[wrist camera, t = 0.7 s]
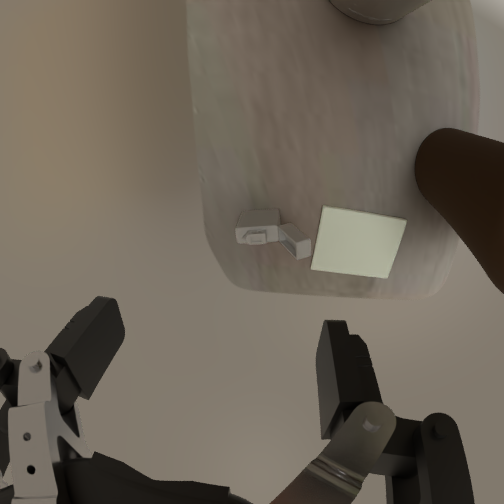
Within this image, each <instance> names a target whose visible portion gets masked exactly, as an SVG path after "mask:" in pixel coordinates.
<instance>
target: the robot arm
mask: <svg viewBox="0 0 504 504" xmlns="http://www.w3.org/2000/svg"><path fill="white" fill-rule="evenodd" d="M430 1H432V0H330V2H331V3H332V4H333V5H334V6H335V7H336V8H337V9H338V10H340V11H341V12H343V13H344V14H346V15H347V16H349V17H351V18H353V19H355V20H358V21H361V22H364V23H369V24H375V25H384V24H389V23H393V22H395V21H397V20H399V19H401V18H402V17H404V16H405V15H407V14H409V13H410V12H412V11H414V10H416V9H417V8H419V7H421V6H423V5H424V4H426V3H428V2H430ZM124 337H125V328H124V325H123V321H122V318H121V314H120V311H119V307H118V304H117V301H116V300H115V299H113V298H108V297H102V296H97V297H96V298H95V299H94V300H93V301H92V302H91V303H90V304H89V306H86V307H85V308H83V309H82V310H80V311H78V312H77V313H76V314H75V315H74V316H73V318H72V319H71V320H70V322H68V323H67V325H66V326H65V329H62V331H61V332H60V333H59V334H58V336H57V337H56V338H55V339H54V340H53V342H52V343H51V344H50V345H49V347H48V348H47V349H46V350H45V351H44V352H43V351H34V352H31V353H29V354H28V355H26V356H25V357H24V358H23V359H22V360H14V359H10V357H9V355H8V354H7V352H6V351H5V350H4V349H2V348H0V392H1V393H2V394H3V396H4V397H5V398H6V401H5V403H4V404H3V406H2V408H1V410H0V504H253V503H251V502H249V501H247V500H246V499H243V498H241V497H239V496H236V495H234V494H231V493H230V487H225V486H218V485H212V484H206V483H200V482H194V481H159V480H153V479H151V478H149V477H147V476H145V475H143V474H142V473H140V472H138V471H136V470H135V469H133V468H132V467H130V466H128V465H127V464H125V463H124V462H121V461H118V460H116V459H113V458H110V457H108V456H105V455H103V454H100V453H98V452H94V454H93V455H92V453H91V452H90V450H89V448H88V446H87V444H86V441H85V438H84V433H83V429H82V424H81V419H80V414H79V409H78V404H77V402H76V399H77V397H78V396H80V397H82V398H85V399H87V400H89V398H90V397H91V395H92V393H93V392H94V390H95V388H96V386H97V384H98V383H99V381H100V379H101V378H102V376H103V374H104V372H105V371H106V369H107V367H108V366H109V364H110V362H111V361H112V359H113V357H114V356H115V354H116V352H117V351H118V349H119V348H120V346H121V344H122V343H123V340H124ZM316 373H317V384H318V396H319V410H320V424H321V439H331V441H330V442H329V444H328V445H327V446H326V447H325V448H324V450H323V451H322V452H321V453H320V454H319V456H318V457H317V458H316V459H314V460H313V461H311V463H310V464H308V466H307V467H306V468H305V469H304V470H303V471H302V472H301V473H300V474H299V475H298V476H297V477H296V478H295V479H294V481H293V482H291V483H290V484H289V485H288V487H286V488H285V490H283V491H282V492H281V493H280V494H279V495H278V496H277V497H276V498H275V499H274V500H273V501H272V502H271V503H270V504H351V503H352V501H353V500H354V499H355V497H356V496H357V494H358V493H359V491H360V489H361V487H362V483H363V481H364V479H365V478H366V477H367V475H368V474H369V473H372V474H379V475H385V480H386V498H387V504H475V503H474V496H473V490H472V485H471V479H470V474H469V469H468V465H467V461H466V456H465V452H464V448H463V444H462V440H461V437H460V433H459V430H458V426H457V424H456V422H455V421H454V420H453V419H452V418H451V417H450V416H448V415H446V414H444V413H433V414H430V415H429V416H427V417H426V418H425V419H424V420H423V421H415V420H409V419H403V418H400V417H397V416H395V414H394V413H393V411H392V410H391V409H390V408H389V407H388V406H386V405H384V404H383V402H382V399H381V395H380V391H379V387H378V383H377V379H376V376H375V372H374V369H373V367H372V361H371V358H370V355H369V351H368V348H367V345H366V343H365V342H364V341H363V340H362V339H361V338H360V336H359V335H349V331H348V327H347V324H346V321H344V320H325V321H324V323H323V327H322V331H321V336H320V340H319V344H318V348H317V353H316ZM9 462H10V463H11V470H12V478H13V485H10V486H8V484H7V482H6V481H4V480H3V476H4V473H5V471H6V469H7V466H8V464H9Z"/></svg>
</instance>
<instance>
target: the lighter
mask: <svg viewBox="0 0 504 504" xmlns="http://www.w3.org/2000/svg"><path fill="white" fill-rule="evenodd" d="M280 222H281V220H280V210H279V209H278V208H274V209H260V210H246V211H243V212H242V213H241V216H240V218H239V221H238V223H237V225H236V228H235V233H236V239H237V243H239V244H241V243H248V245H255V244H266V242H277V241H278V240H279V242H280V243H281V244H282V245H283V246H284V247H285V248H286V249H287V250H288V252H289V253H290V254H291V255H292V256H293V257H294V258H295V259H296V260H300V259H303V258H306V257H309V256H311V241H310V238H308V237H307V236H306V235H305V234H304V233H302V232H301V231H300V230H299V229H298V228H296V227H295V226H294V225H293V224H292V223H287V224H283V225H280Z"/></svg>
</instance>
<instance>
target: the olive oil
mask: <svg viewBox="0 0 504 504" xmlns="http://www.w3.org/2000/svg"><path fill="white" fill-rule="evenodd" d="M415 176H416V181H417V184H418V187H419V189H420V191H421V193H422V194H423V196H424V197H425V198H426V199H427V200H428V202H429V203H430V204H431V205H432V206H433V207H434V208H435V209H436V210H437V211H438V212H439V213H440V214H441V215H442V216H443V217H444V218H445V220H446V221H447V222H448V223H449V224H450V225H451V227H452V228H453V229H454V230H455V232H456V233H457V234H458V235H459V237H460V238H461V239H462V240H463V242H464V243H465V244H466V245H467V247H468V248H469V249H470V251H471V252H472V253H473V255H474V256H475V258H476V259H477V261H478V262H479V263H480V264H481V266H482V268H483V269H484V271H485V272H486V274H487V275H488V277H489V278H490V280H491V281H492V282H493V284H494V285H495V286H496V287H497V288H498V289H499V290H500V291H501V292H502V293H503V294H504V143H502V142H499V141H496V140H493V139H489V138H486V137H482V136H478V135H475V134H472V133H468V132H465V131H461V130H457V129H453V128H444V129H439V130H437V131H435V132H433V133H432V134H430V135H429V136H428V137H427V138H426V139H425V140H424V142H423V143H422V145H421V147H420V149H419V151H418V154H417V157H416V163H415Z"/></svg>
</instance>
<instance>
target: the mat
mask: <svg viewBox="0 0 504 504" xmlns="http://www.w3.org/2000/svg"><path fill="white" fill-rule="evenodd" d="M406 223H407V220H406V219H403V218H398V217H393V216H387V215H382V214H376V213H370V212H364V211H358V210H352V209H346V208H339V207H333V206H326V205H323V208H322V213H321V218H320V224H319V229H318V234H317V239H316V244H315V249H314V254H313V258H312V263H311V270H320V271H328V272H336V273H344V274H353V275H361V276H370V277H378V278H388V275H389V272H390V270H391V267H392V264H393V262H394V259H395V256H396V253H397V250H398V247H399V245H400V242H401V239H402V235H403V232H404V229H405V226H406Z"/></svg>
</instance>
